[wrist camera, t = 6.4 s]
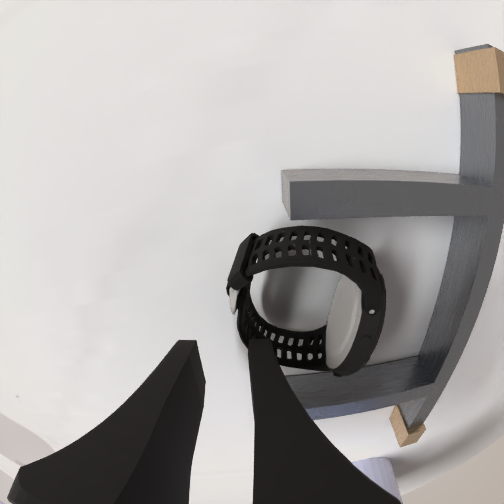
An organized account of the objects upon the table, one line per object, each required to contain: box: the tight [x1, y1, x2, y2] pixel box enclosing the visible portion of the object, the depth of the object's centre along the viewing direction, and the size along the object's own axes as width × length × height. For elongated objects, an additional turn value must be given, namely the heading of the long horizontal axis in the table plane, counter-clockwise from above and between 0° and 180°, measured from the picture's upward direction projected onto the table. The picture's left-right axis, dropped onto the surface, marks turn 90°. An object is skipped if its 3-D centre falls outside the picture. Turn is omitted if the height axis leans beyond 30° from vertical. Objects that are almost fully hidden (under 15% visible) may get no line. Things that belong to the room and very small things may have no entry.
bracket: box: [281, 44, 504, 447], centre depth 10 cm, size 20×8×2 cm, turn 4°
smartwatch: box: [226, 226, 386, 377], centre depth 9 cm, size 4×5×5 cm
